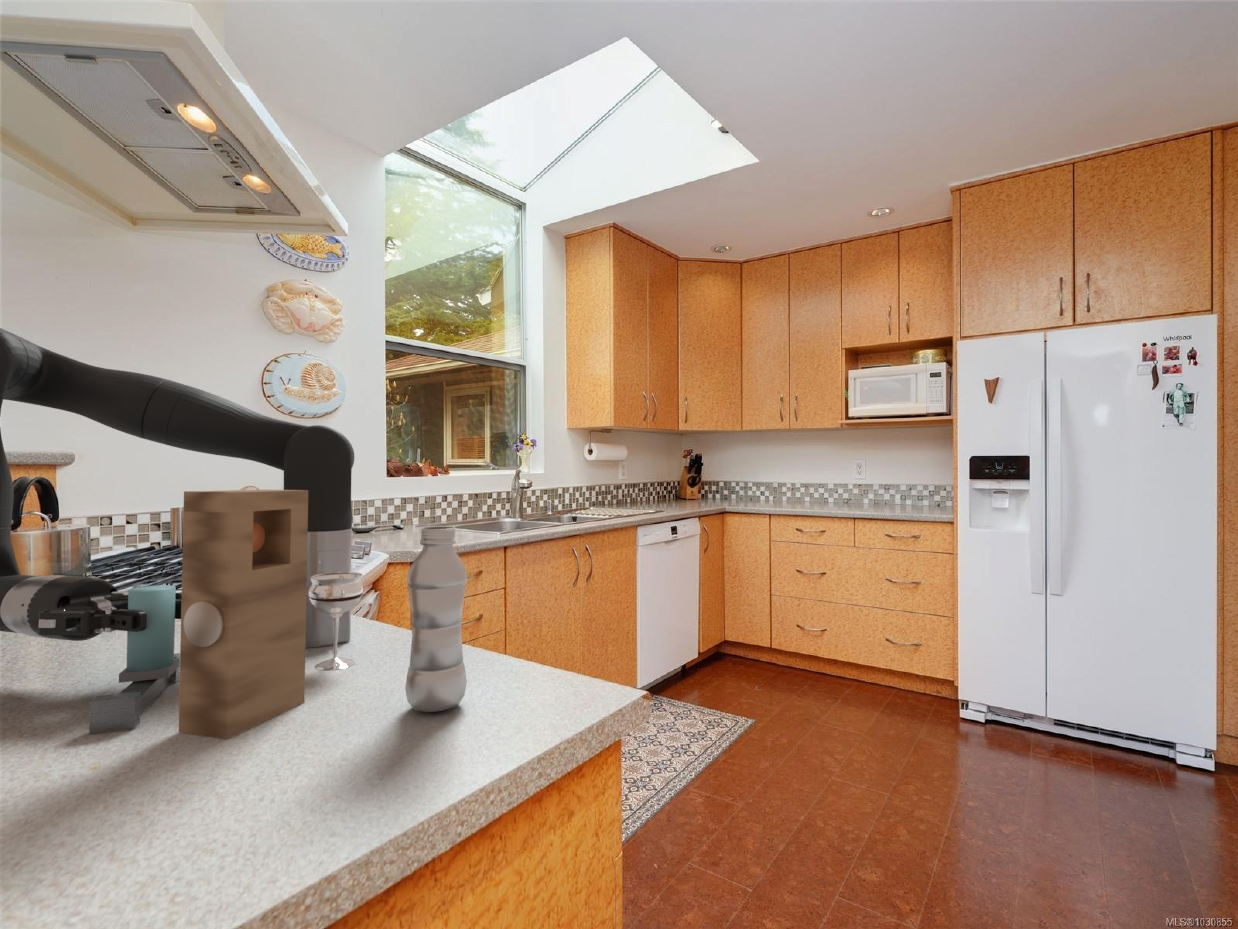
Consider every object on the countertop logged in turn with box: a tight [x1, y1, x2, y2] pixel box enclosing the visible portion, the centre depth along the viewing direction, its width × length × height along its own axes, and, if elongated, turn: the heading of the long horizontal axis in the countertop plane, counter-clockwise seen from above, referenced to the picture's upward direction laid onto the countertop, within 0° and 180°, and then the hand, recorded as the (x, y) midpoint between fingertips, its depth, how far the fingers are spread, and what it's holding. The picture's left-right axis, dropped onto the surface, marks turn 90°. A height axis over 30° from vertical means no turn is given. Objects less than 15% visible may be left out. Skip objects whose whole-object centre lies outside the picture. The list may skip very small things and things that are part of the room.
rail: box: [88, 653, 180, 735], centre depth 68 cm, size 4×16×3 cm, turn 23°
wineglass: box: [309, 571, 364, 671], centre depth 82 cm, size 7×7×12 cm
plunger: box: [253, 523, 265, 553], centre depth 65 cm, size 7×3×3 cm, turn 76°
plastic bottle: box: [404, 525, 468, 713], centre depth 67 cm, size 6×7×20 cm
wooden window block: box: [178, 489, 308, 740], centre depth 64 cm, size 6×10×24 cm, turn 166°
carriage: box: [118, 584, 180, 684], centre depth 71 cm, size 5×5×10 cm
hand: (168, 615), depth 70 cm, fingers open, 5 cm apart
